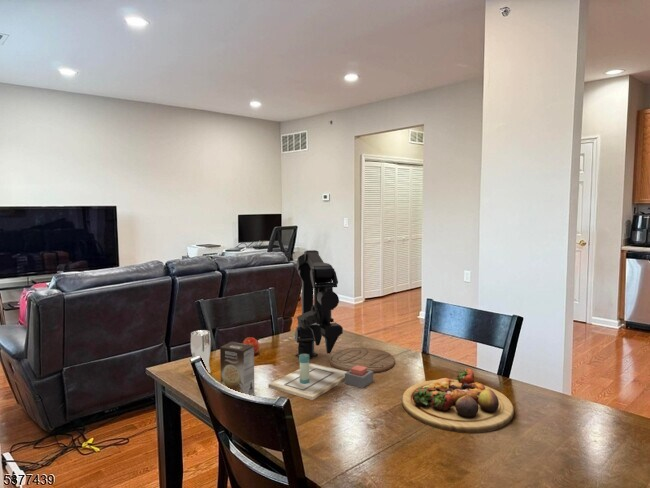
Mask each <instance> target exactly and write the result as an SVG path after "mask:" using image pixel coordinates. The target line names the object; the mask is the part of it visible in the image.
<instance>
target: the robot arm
mask: <svg viewBox="0 0 650 488" xmlns="http://www.w3.org/2000/svg"><path fill="white" fill-rule="evenodd" d="M296 271H297V274H298V275H299V278H300V280H301V314H300V315H298V316H297V317H296V319H297V327H296V328H295V332H294V339H295V342H296V343H297V344H298V346H297V348H298V351H297V352H298V353H297V354H295V357H298V358H299V355H300V354H309V359H312V358H313V357H315V356H318V353H317V352H315V346H320V343H321V341H322V337H323V338H324V343H325V351H326V353H327V354H332V353H331V352H332V350H333V349H334V346H335V345H336V342H337V340H338V338H339V337H340V336H341V335H342V334H344V330H343V329H344V328H343V326H342V325H340V324H339V323H337V322H334V321H335V320H334V318H332V311H334V309H336V308H337V307H338V305H339V303H340V298H339V295H338V294H337V293H336V292H334V288H338V284H339V280H338V277H337V272H336V270H335V268H333V265H331V264H330V263H328V262H324V259H322V257H321V255H320V252H319V251H318V250H315V249H310V250H305V251H304V252H303V253H302V254H301V255H300V256H298V257H297V260H296Z"/></svg>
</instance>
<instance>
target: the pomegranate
mask: <svg viewBox="0 0 650 488" xmlns="http://www.w3.org/2000/svg"><path fill="white" fill-rule="evenodd" d="M260 339H261V338H260V337H258V338H255V337H251V336H249V337H246V338H244V340H243V341H242V343H243V344H248V345H254V355H256V354H258V352H259V350H260V346H261V345H260V343H259V340H260Z"/></svg>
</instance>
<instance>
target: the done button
mask: <svg viewBox="0 0 650 488" xmlns="http://www.w3.org/2000/svg"><path fill="white" fill-rule="evenodd" d="M366 373H367V367H363V366H359V365H356V366H355V367H353V368H351V374H355V375H359V376H363V375H365V374H366Z"/></svg>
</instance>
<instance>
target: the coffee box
mask: <svg viewBox="0 0 650 488" xmlns="http://www.w3.org/2000/svg"><path fill="white" fill-rule="evenodd" d="M219 352H220V353H219V355H220V358H219V359H220V360H219V361H220V363H219V364H220V365H219V366H220V385H221V384H223V385H225V386H227V387H228V388H230V389H233V390H235V391H238V392H241V393H245V394H249V395H252V396H253V395H255V354H254V345H248V344H243V342H237V341H229V342H228V343H226V344H224V345H222V346H220V347H219Z"/></svg>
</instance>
